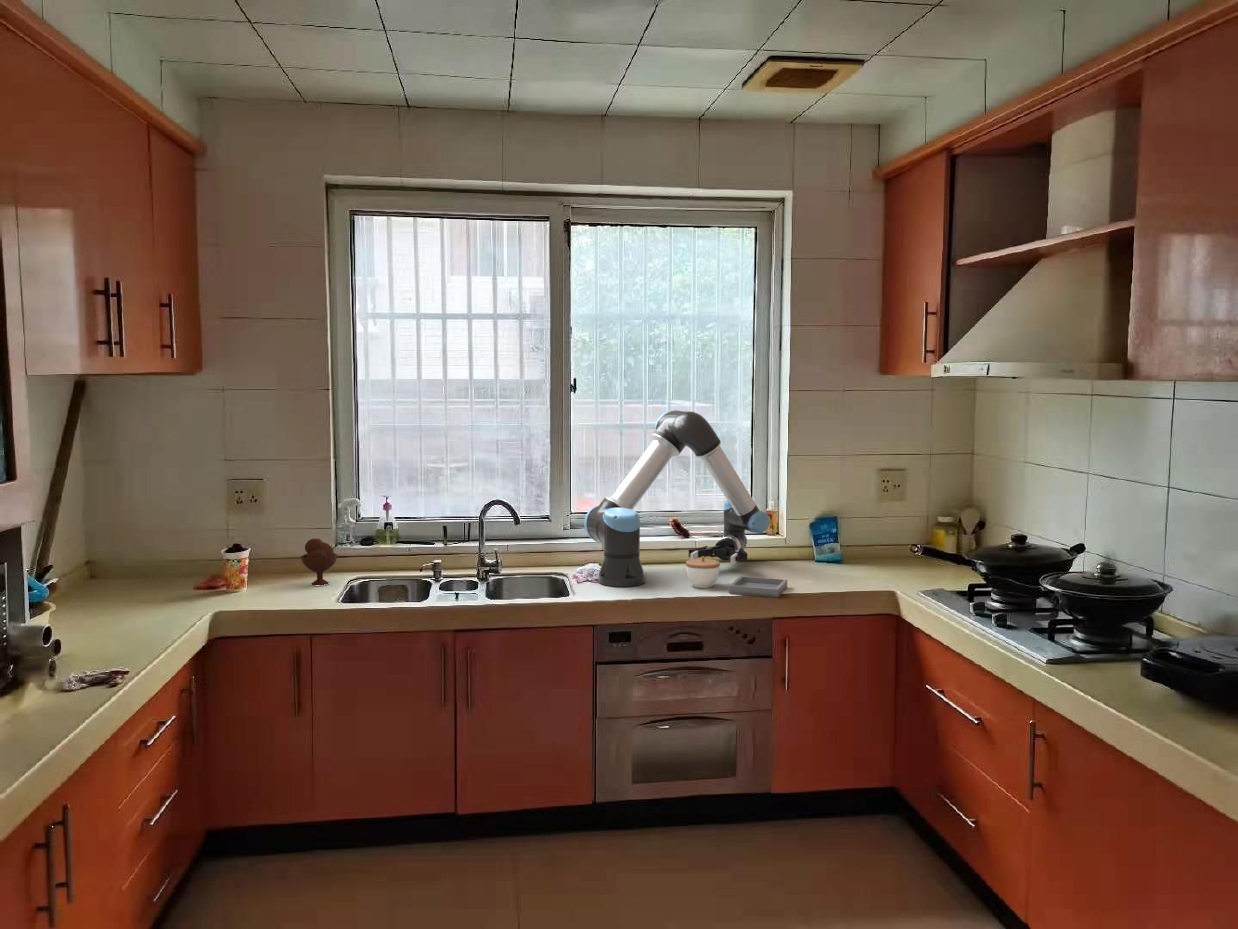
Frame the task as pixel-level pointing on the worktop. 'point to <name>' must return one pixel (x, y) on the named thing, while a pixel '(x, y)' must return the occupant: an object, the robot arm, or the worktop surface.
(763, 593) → the tray
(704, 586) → the lidded jar
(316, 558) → the ice cream bowl
